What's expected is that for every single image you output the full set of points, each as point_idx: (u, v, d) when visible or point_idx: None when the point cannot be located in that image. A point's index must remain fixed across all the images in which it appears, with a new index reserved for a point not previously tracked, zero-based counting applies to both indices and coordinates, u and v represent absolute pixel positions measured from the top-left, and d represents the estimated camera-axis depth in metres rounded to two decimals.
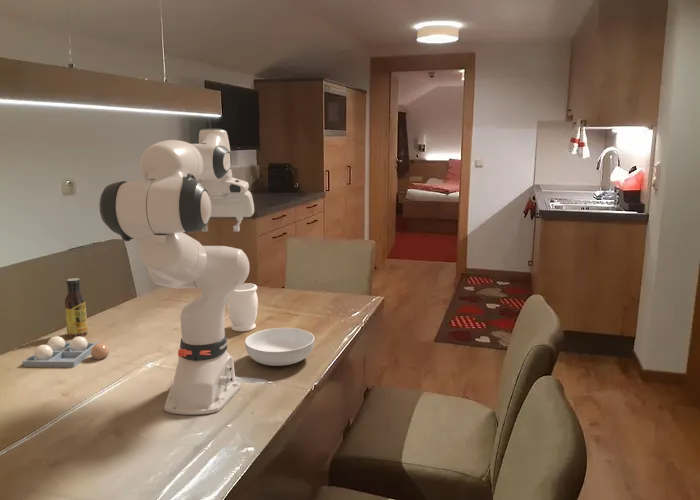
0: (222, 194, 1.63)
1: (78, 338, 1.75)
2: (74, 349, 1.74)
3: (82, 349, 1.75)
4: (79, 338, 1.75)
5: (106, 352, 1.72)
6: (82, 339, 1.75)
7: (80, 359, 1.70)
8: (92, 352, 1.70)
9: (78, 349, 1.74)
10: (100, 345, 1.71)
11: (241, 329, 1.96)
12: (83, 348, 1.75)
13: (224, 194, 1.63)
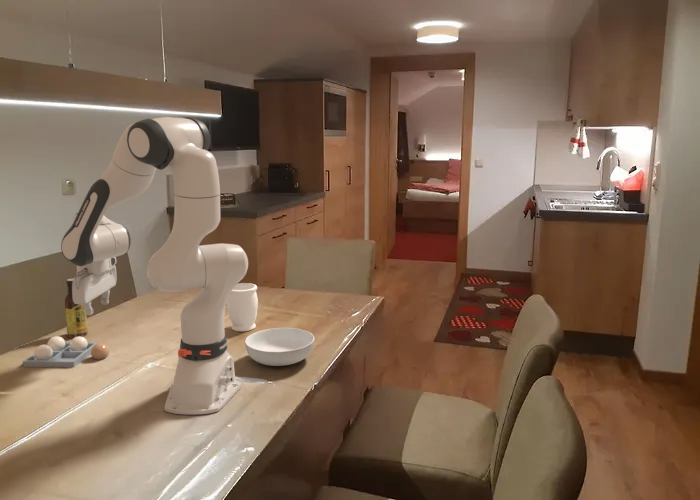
0: None
1: (78, 338, 1.75)
2: (74, 349, 1.74)
3: (82, 349, 1.75)
4: (79, 338, 1.75)
5: (106, 352, 1.72)
6: (82, 339, 1.75)
7: (80, 359, 1.70)
8: (92, 352, 1.70)
9: (78, 349, 1.74)
10: (100, 345, 1.71)
11: (241, 329, 1.96)
12: (83, 348, 1.75)
13: None
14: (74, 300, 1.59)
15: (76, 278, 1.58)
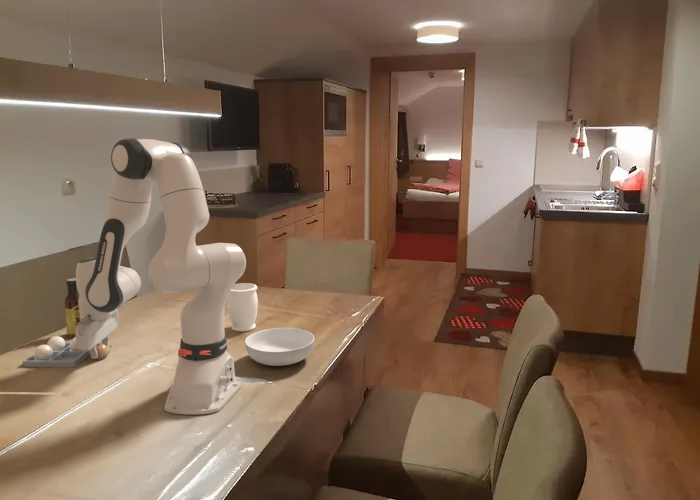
0: None
1: None
2: (74, 349, 1.74)
3: None
4: None
5: (106, 352, 1.72)
6: None
7: (80, 359, 1.70)
8: None
9: None
10: (100, 345, 1.71)
11: (241, 329, 1.96)
12: None
13: None
14: (77, 347, 1.61)
15: (80, 326, 1.60)
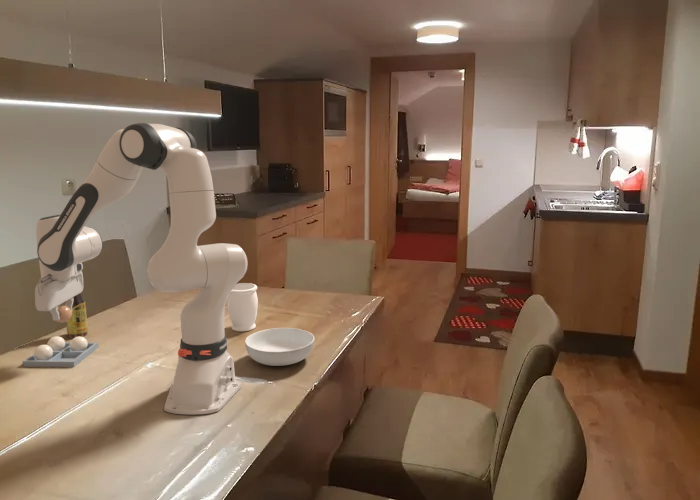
0: (70, 276, 1.66)
1: (78, 338, 1.75)
2: (74, 349, 1.74)
3: (82, 349, 1.75)
4: (79, 338, 1.75)
5: (69, 314, 1.66)
6: (82, 339, 1.75)
7: (80, 359, 1.70)
8: None
9: (78, 349, 1.74)
10: (62, 307, 1.66)
11: (241, 329, 1.96)
12: (83, 348, 1.75)
13: None
14: (37, 307, 1.56)
15: (39, 284, 1.55)
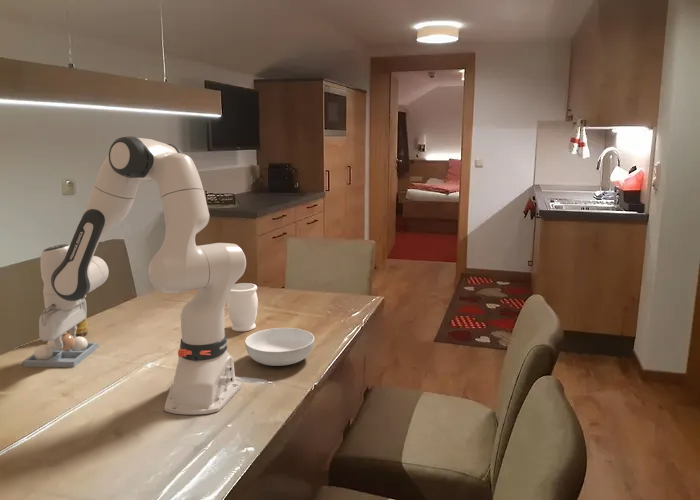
0: None
1: (78, 338, 1.75)
2: (74, 349, 1.74)
3: (82, 349, 1.75)
4: (79, 338, 1.75)
5: (72, 342, 1.68)
6: (82, 339, 1.75)
7: (80, 359, 1.70)
8: None
9: (78, 349, 1.74)
10: (66, 335, 1.68)
11: (241, 329, 1.96)
12: (83, 348, 1.75)
13: None
14: (41, 337, 1.58)
15: (43, 315, 1.57)
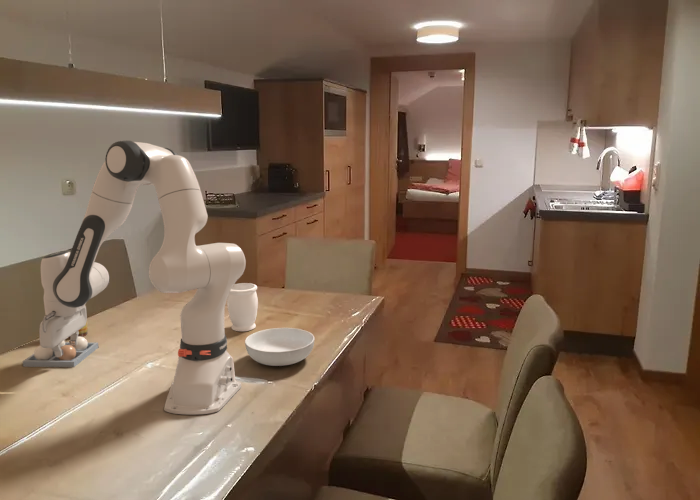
0: None
1: (78, 338, 1.75)
2: None
3: (82, 349, 1.75)
4: (79, 338, 1.75)
5: (73, 354, 1.69)
6: (82, 339, 1.76)
7: (80, 359, 1.70)
8: None
9: (78, 349, 1.74)
10: (67, 347, 1.68)
11: (241, 329, 1.96)
12: (83, 348, 1.75)
13: None
14: (41, 344, 1.58)
15: (43, 322, 1.57)
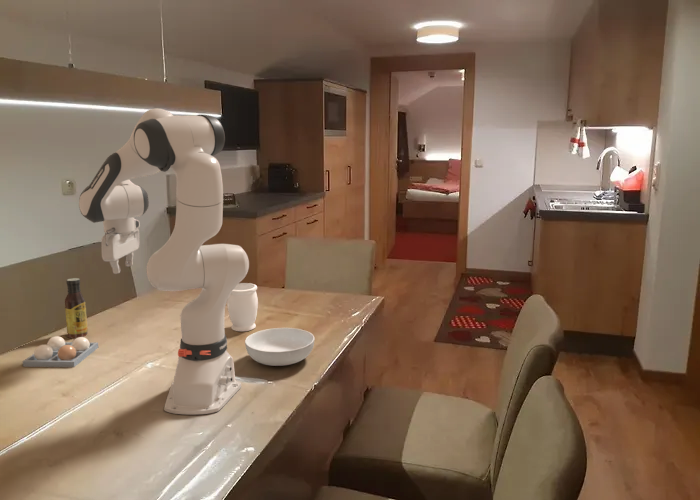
0: None
1: (82, 341, 1.74)
2: None
3: None
4: (83, 341, 1.75)
5: (73, 353, 1.69)
6: (86, 342, 1.75)
7: (80, 359, 1.70)
8: (59, 353, 1.68)
9: None
10: (67, 346, 1.69)
11: (241, 329, 1.96)
12: None
13: None
14: (103, 257, 1.66)
15: (106, 235, 1.64)
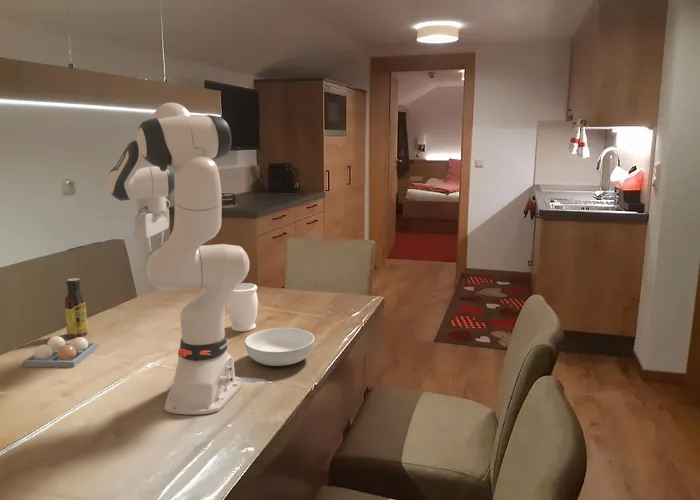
0: None
1: (80, 340, 1.74)
2: None
3: None
4: (81, 340, 1.74)
5: (73, 353, 1.69)
6: (84, 341, 1.75)
7: (80, 359, 1.70)
8: (59, 353, 1.68)
9: None
10: (67, 346, 1.69)
11: (241, 329, 1.96)
12: (84, 350, 1.75)
13: None
14: (136, 235, 1.72)
15: (139, 214, 1.70)
